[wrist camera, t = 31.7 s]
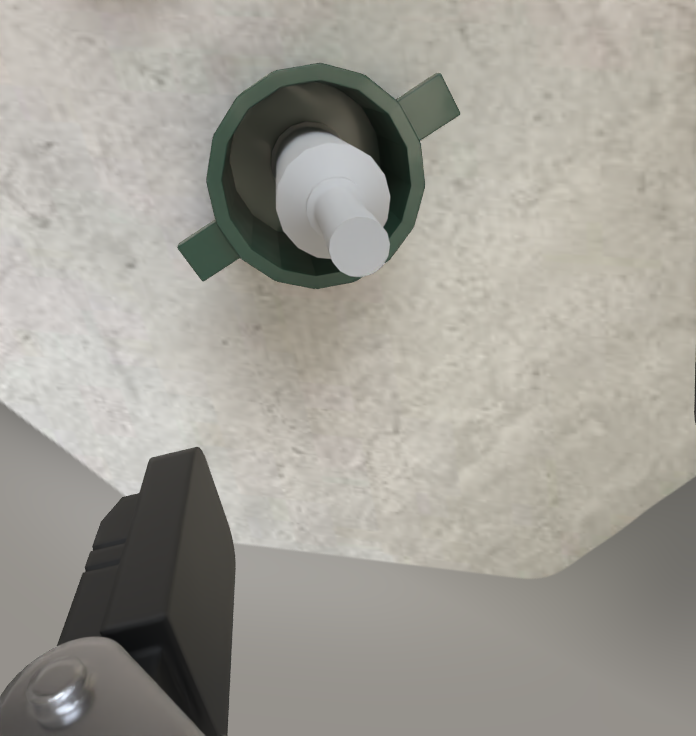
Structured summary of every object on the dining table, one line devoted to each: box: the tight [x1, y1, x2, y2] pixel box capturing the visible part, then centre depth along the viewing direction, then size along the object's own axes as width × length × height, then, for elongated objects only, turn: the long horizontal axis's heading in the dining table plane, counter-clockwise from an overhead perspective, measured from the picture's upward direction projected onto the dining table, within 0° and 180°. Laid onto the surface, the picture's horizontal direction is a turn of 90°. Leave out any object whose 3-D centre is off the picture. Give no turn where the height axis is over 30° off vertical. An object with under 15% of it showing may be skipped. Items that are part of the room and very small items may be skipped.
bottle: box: [271, 121, 390, 277], centre depth 33 cm, size 5×5×25 cm
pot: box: [177, 63, 460, 289], centre depth 40 cm, size 12×17×10 cm
